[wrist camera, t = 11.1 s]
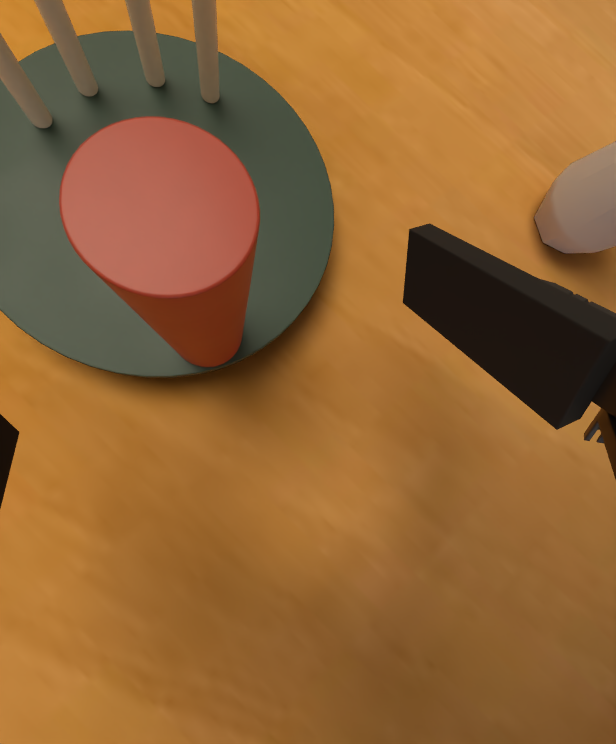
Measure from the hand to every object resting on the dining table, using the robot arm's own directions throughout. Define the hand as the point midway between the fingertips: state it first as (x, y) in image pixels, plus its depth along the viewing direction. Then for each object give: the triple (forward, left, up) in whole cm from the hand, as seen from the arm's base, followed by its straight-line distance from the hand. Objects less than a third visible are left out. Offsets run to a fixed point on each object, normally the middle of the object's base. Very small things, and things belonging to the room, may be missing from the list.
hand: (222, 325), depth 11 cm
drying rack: (+7, -4, -9) cm, 12 cm away
